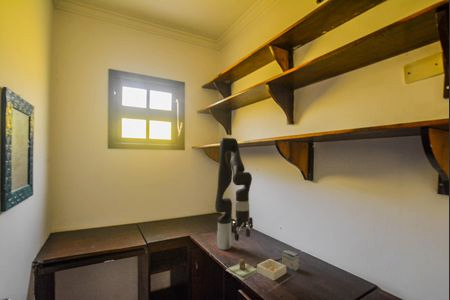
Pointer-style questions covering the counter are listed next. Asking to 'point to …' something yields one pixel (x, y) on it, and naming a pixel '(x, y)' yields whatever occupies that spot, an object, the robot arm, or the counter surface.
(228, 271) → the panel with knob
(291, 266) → the medicine box
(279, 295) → the counter surface
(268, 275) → the cream square tray
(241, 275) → the lid
